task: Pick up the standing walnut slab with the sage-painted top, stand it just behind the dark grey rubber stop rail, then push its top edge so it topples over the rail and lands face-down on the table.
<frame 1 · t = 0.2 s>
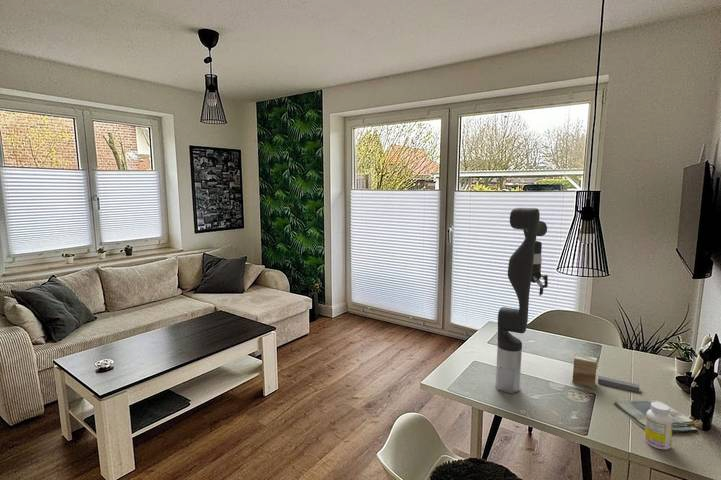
hand: (530, 294, 190), 29 cm above the table, fingers open, 8 cm apart
supplement bottle: (657, 444, 122), on the table
stop rail: (617, 386, 158), on the table
dish towel: (654, 419, 136), on the table
walnut slab: (583, 383, 160), on the table
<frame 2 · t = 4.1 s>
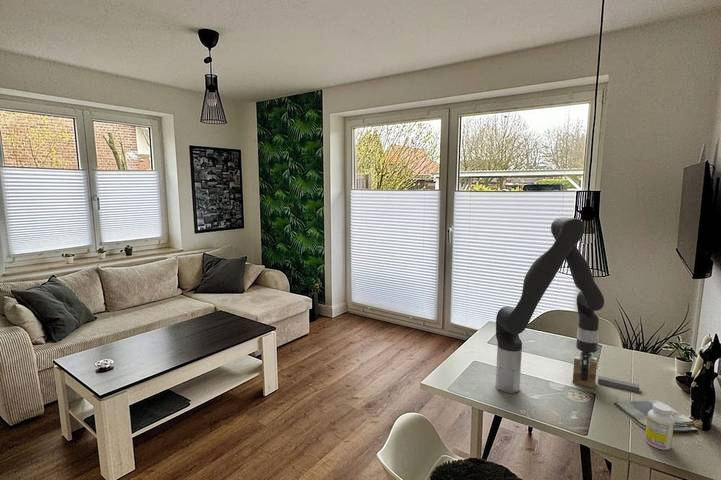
hand: (584, 377, 160), 2 cm above the table, fingers closed on walnut slab, 4 cm apart
walnut slab: (583, 383, 160), on the table, touching gripper
everything else where it was.
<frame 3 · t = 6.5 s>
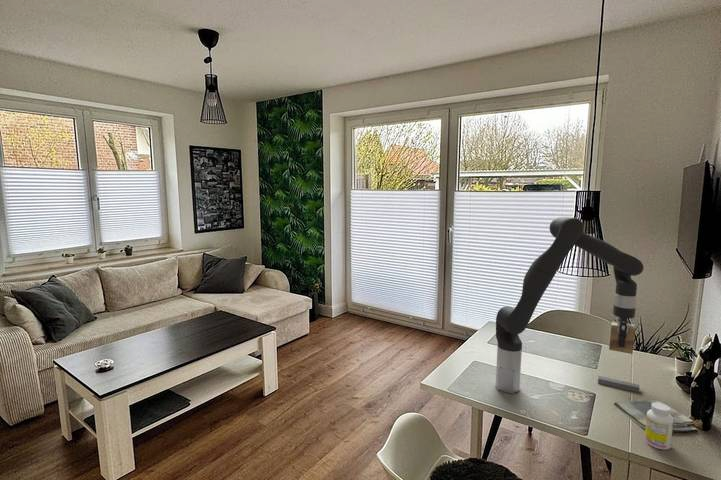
hand: (621, 344, 160), 16 cm above the table, fingers closed on walnut slab, 4 cm apart
walnut slab: (620, 349, 160), point 14 cm above the table, touching gripper
everything else where it was.
when the fingers open (3 cm above the table, at t = 9.3 s): walnut slab stays where it is, on the table.
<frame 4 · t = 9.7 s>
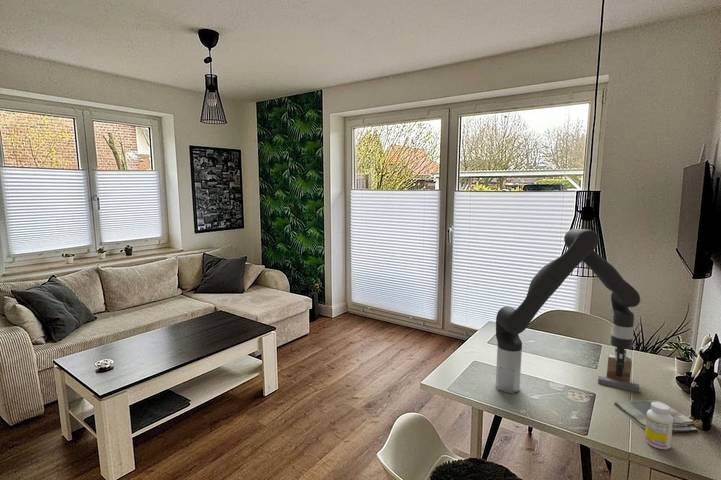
hand: (618, 372, 161), 4 cm above the table, fingers open, 8 cm apart
walnut slab: (617, 381, 162), on the table
everything else where it was.
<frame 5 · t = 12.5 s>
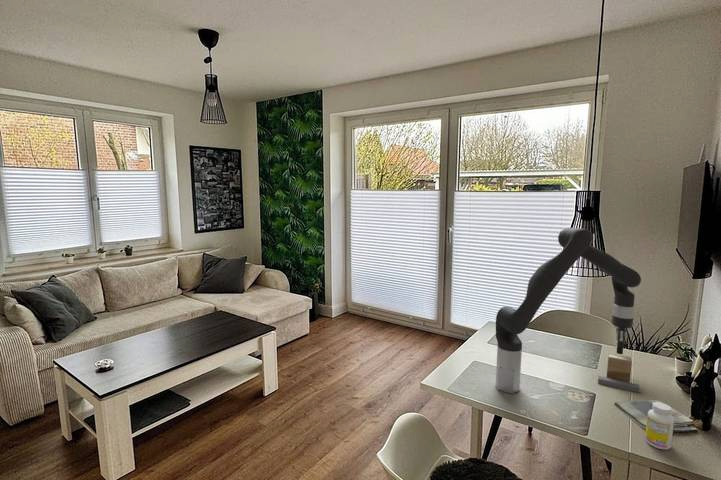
hand: (619, 353, 167), 9 cm above the table, fingers closed
nothing on the table moved.
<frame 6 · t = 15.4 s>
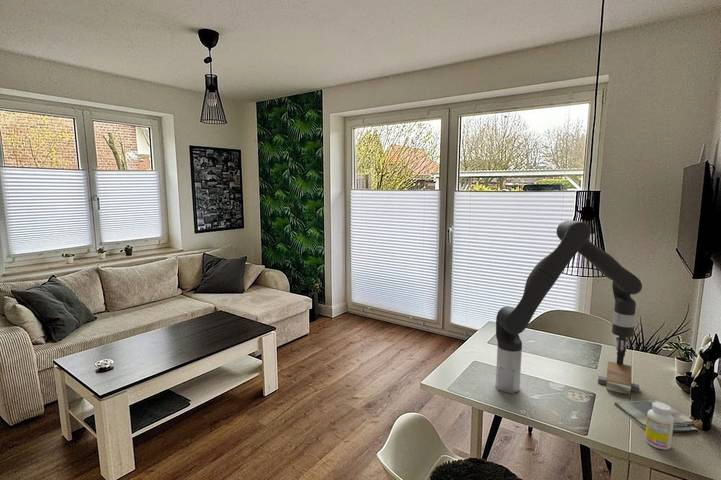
hand: (619, 363, 158), 9 cm above the table, fingers closed
walnut slab: (619, 367, 159), point 7 cm above the table, tilted 117°, touching stop rail
everything else where it was.
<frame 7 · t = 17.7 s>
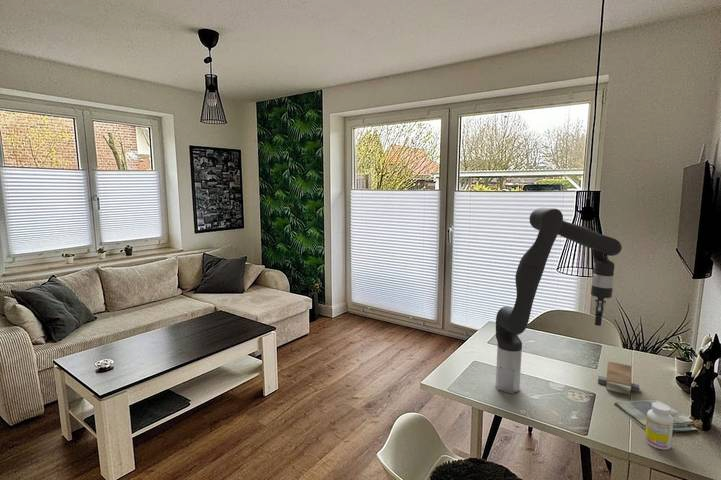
hand: (597, 325, 162), 23 cm above the table, fingers closed
nothing on the table moved.
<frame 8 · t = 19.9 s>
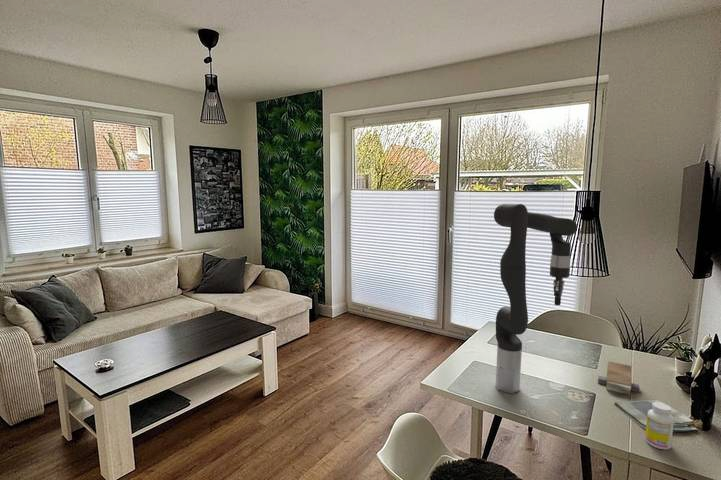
hand: (557, 304, 165), 31 cm above the table, fingers closed
nothing on the table moved.
at the end: walnut slab tilted 117°; walnut slab inside the target area (5.8 cm from its centre), point 6.9 cm above the table; the gripper is holding nothing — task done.
